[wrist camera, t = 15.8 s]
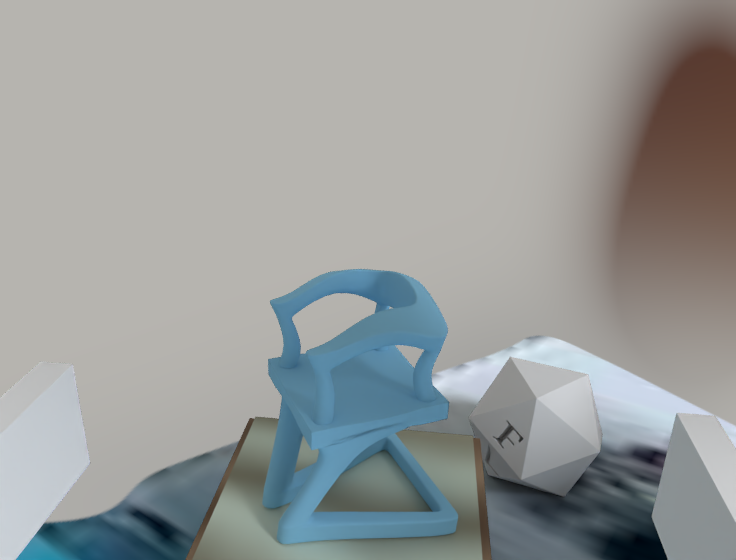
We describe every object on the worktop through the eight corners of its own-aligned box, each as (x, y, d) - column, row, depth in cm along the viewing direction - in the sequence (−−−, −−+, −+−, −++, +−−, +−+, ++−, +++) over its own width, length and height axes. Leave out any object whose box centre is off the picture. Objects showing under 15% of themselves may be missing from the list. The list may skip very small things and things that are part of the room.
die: (454, 441, 50) (438, 391, 42) (543, 373, 51) (544, 312, 43) (529, 534, 45) (527, 497, 37) (624, 457, 47) (642, 406, 39)
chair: (249, 474, 35) (240, 263, 31) (391, 440, 39) (402, 244, 34) (294, 583, 29) (291, 336, 24) (460, 532, 32) (485, 305, 27)
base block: (252, 490, 43) (249, 411, 41) (471, 511, 42) (481, 431, 40) (173, 697, 30) (162, 599, 28) (485, 735, 29) (501, 637, 27)
